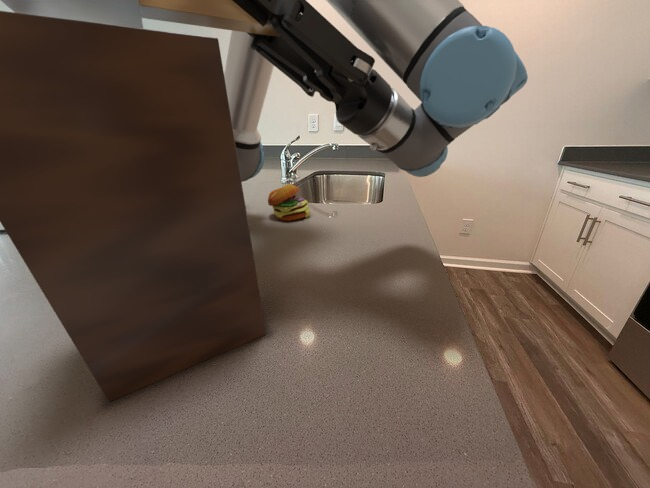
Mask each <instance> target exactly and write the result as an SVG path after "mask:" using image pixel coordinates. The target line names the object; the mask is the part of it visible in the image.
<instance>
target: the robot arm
mask: <svg viewBox="0 0 650 488" xmlns="http://www.w3.org/2000/svg"><path fill="white" fill-rule="evenodd" d="M232 1H234V2H235V3H236V4H237V5H238V6H240V7H241V8H242V9H243V10H244V11H246V12H247V13H248V14H249V15H250V16H252V17H253V18H254V19H255V20H256V21H257V22H259V23H260V24H261V25H262V26H263V27H264V26H265V25H266V23H267V20H268V18H269V19H270V20H269V25H270V26H271V27H272V28H273V29H274V30H275V31H276V32H277V33H278V34H279V35H280V37H276V36H268V35H261V34H254V33H247V32H240V31H232V30H230V37H229V43H228V48H227V49H228V50H227V54H226V55H227V56H226V61H225V67H224V71H223V72H224V78H225V84H226V90H227V96H228V102H229V109H230V115H231V121H232V127H233V133H234V139H235V145H236V152H237V158H238V164H239V170H240V176H241V182H242V183H243V182H247V181H249V180H250V179H252V178H255V177H256V176H257V175H258V174H260V172H261V170H262V169H263V168H264V167H263V166H264V163H265V152H264V151H263V150H264V146H263V144H262V142H261V141H262V135H261V133H260V132H259V130H258V126H259V122H260V119H261V115H262V111H263V107H264V103H265V100H266V97H267V94H268V90H269V86H270V83H271V78H272V74H273V71H274V68H276V69H277V70H278V71H280V72H281V73H282V74H284V75H285V76H286V77H288V78H289V79H290V80H291V81H292V82H294V83H295V84H296V85H297V86H298V87H300V88H301V90H302V91H303V92H304V93H305V94H306V95H307V96H308V97H311V98H313V97H314V96H315V93H318V94H319V96H320V97H321V98H322V99H324V100H326V101H327V102H331V103H334V106H335V117H336V120H337V122H338V123H339V124H340V125H342V127H344V128H346V129H347V130H348V131H349V132H351V133H352V134H354V135H356V136H357V137H359V138H360V139H361V140H363V141H364V142H365V143H367V144H368V145H369V149H370V151H374V152H375V151H378V152H379V153H380V154H382V155H383V156H384V157H385V158H387V159H388V160H389V161H391V162H392V163H393V164H394V165H396V167H397V168H398V169H400V170H402V171H404V172H406V173H407V174H409V175H411V176H414V177H417V178H425V177H428V176H431V175H432V174H434V173H436V172H437V171H438V170H439V169H440V168H441V166H442V164H443V163H444V162H445V161H446V159H447V156H448V152H449V148H448V146H449V145H450V144H451V143H453V142H454V141H455V139H457V138H458V137H460V136H461V135H463V133H465V132H466V131H468V130H469V129H471V128H472V127H473V126H475V125H478V124H479V123H481V122H482V121H484V120H487V119H489V118H490V117H492V115H494V114H495V113H496V112H497V111H498V110H499V109H500V108H501V106H502V105H504V104H505V103H507V102H509V100H511V98H512V97H513V96H514V95H515V94H517V93H518V92H519V91H520V90H522V88H524V87H525V86H526V84H527V82H528V79H529V77H528V72H527V68H526V66H525V64H524V62H523V61H522V59H521V58H520V56H519V54H518V53H517V52H516V51H515V48H514V46H513V43H512V42H511V40H510V39H509V37H508V36H507V35H506V34H505V33H504V32H502V31H501V30H500V29H497V28H496V27H492V26H488V25H483V24H482V23H481V22H480V21H479V20H478V19H477V18H476V17H475V16H474V15H473V14H472V13H470V11H468V10H467V9H466V8H465V6H464V4H463V3H462V2H460V0H325V1H326V2H327V3H328V4H329V6H331V7H332V9H333V10H334V11H335V12H336V13H337V14H338V15H339V16H340V17H341V18H342V19H343V20H344V21H345V22H346V23H347V24H348V25H349V26H350V27H351V29H352V30H354V32H355V33H356V34H357V35H358V36H359V37H360V38H361V39H362V40H363V41H364V42H365V43H366V44H367V45H368V47H370V48H371V49H372V51H373V52H374V53H375V54H376V55H377V56H378V57H379V58H380V59H381V60H382V61H383V62H384V63H385V65H387V66H388V67H389V68H390V69H391V71H392V72H393V73H394V74H395V75H396V76H397V77H398V78H399V79H400V80H401V81H402V82H403V84H404V85H406V87H407V88H408V89H409V91H410V92H411V93H413V95H414V96H416V98H417V99H418V100H419V101H420V102H421V103H420V104H419V105H418V106H417V107H416V108H415V109H414V108H413V107H412V106H411V105H410V104H409V103H408V102H407V101H406V100H405V99H404V98H403V97H402V96H401V94H400V93H399V92H398V91H397V90H396V89H395V88H393V87H392V86H391V85H390V84H389V83H388V81H386V79H384V78H383V76H381V74H380V73H378V71H377V70H375V69H374V68H373V67H374V65H375V62H376V60H375V58H374V57H373V56H372V55H370V54H369V53H367V52H365V51H363V50H362V49H360V48H358V47H357V46H356V45H355V44H354V43H353V41H351V40H350V39H349V38H347V36H345V35H344V34H343V33H342V32H341V31H340V30H339V29H338V28H337V27H335V25H333V24H332V23H331V22H330V21H329V20H328V19H327V18H326V17H325V16H324V15H323V14H321V13H320V12H319V11H318V10H317V9H316V8H315V7H314V6H313V5H312V4H311V3H309V2H308V0H232ZM0 234H7V232H6V231H5V229H0Z"/></svg>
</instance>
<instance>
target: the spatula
mask: <svg viewBox="0 0 650 488" xmlns="http://www.w3.org/2000/svg"><path fill="white" fill-rule="evenodd" d="M0 2H1V3H2V4H3V5H5V6H6V7H7V8H8V9H9V10H11V12H14V13H22V14H30V15H38V16H46V17H54V18H62V19H70V20H78V21H86V22H94V23H102V24H110V25H118V26H126V27H134V28H142V29H144V23H143V19H145V20H146V19H147V20H153V21H160V22H168V23H175V24H182V25H190V26H197V27H205V28H211V29H217V30H227V31H240V32H247V33H254V34H261V35H268V36H276V37H280V35H279V34H278V33H277V32H276V31H275V30H274V29H273V28H272V27H271V26H270V25H269V20H270V19H269V18H268V20H267V23H266V25H265V26H264V27H263V26H262V25H261V24H260V23H259V22H257V21H256V20H255V19H254V18H253V17H252V16H250V15H249V14H248V13H247V12H246V11H244V10H243V9H242V8H241V7H240V6H238V5H237V4H236V3H235V2H234V1H232V0H0Z"/></svg>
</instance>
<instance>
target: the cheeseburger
mask: <svg viewBox="0 0 650 488" xmlns="http://www.w3.org/2000/svg"><path fill="white" fill-rule="evenodd" d="M299 191H300V188H298V186H296V185H294V184H291V183H287V184H285V185H283V186H281V187H279V188H276V189H274V190H271V191H270V192H269V194H268V196H267V204H268V206H271V207H272V209H273V214H274V215H275V216H276V218H277V219H278V220H280V221H282V222H283V221H284V222H286V221H287V222H289V221H294V220H299V219H303V218H309V216H310V214H311V209H310V208H309V205H308V204H309V202H308V200H306V198H305V197H297V196H298V194H297V193H298V192H299Z"/></svg>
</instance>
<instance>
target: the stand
mask: <svg viewBox="0 0 650 488" xmlns="http://www.w3.org/2000/svg"><path fill="white" fill-rule="evenodd" d="M224 72H225V71H224V66H223V60H222V54H221V49H220V42H219V38H218V37H213V36H205V35H198V34H190V33H189V34H188V33H182V32H181V33H180V32H173V31H166V30H158V29H157V30H156V29H151V28H150V29H149V28H143V29H142V28H134V27H126V26H118V25H110V24H102V23H94V22H86V21H78V20H70V19H62V18H54V17H46V16H38V15H30V14H22V13H15V12H13V11H6V10H0V224H1V226H2V228H3V230H5V231H6V232H7V233H6V234H7V236H8V238H9V239H10V241H11V243H12V244H13V246H14V247H15V249H16V250H17V253H18V254H19V255H20V257H21V259H22V260H23V262H24V264H25V265H26V268H27V269H28V270H29V272H30V273H31V276H32V277H33V279H34V280H35V282H36V284H37V285H38V287H39V289H40V291H41V292H42V293H43V296H44V297H45V298H46V301H47V302H48V303H49V305H50V307H51V308H52V310H53V312H54V313H55V316H56V317H57V318H58V320H59V322H60V323H61V325H62V327H63V329H64V331H65V332H66V333H67V335H68V337H69V338H70V340H71V342H72V343H73V345H74V347H75V348H76V350H77V351H78V353H79V354H80V356H81V358H82V360H83V361H84V364H86V366H87V368H88V369H89V371H90V373H91V374H92V376H93V378H94V380H95V381H96V383H97V385H98V386H99V388H100V389H101V391H102V393H103V394H104V396H105V397H106V400H107V401H108V402H113V401H114V400H117V399H120V398H122V397H124V396H127V395H129V394H131V393H134V392H135V391H138V390H140V389H143V388H145V387H147V386H149V385H152V384H154V383H156V382H159V381H162V380H163V379H166V378H168V377H170V376H173V375H175V374H177V373H179V372H182V371H184V370H186V369H189V368H191V367H194V366H196V365H198V364H201V363H203V362H205V361H207V360H210V359H212V358H214V357H217V356H219V355H221V354H225V353H226V352H228V351H230V350H233V349H236V348H238V347H240V346H242V345H245V344H247V343H249V342H251V341H254V340H257V339H258V338H260V337H263V336H265V335H267V331H266V323H265V318H264V317H265V316H264V313H263V306H262V305H263V304H262V300H261V293H260V288H259V282H258V281H259V280H258V275H257V268H256V262H255V257H254V251H253V250H254V249H253V243H252V237H251V233H250V227H249V220H248V213H247V208H246V202H245V195H244V188H243V182H241V176H240V170H239V164H238V158H237V152H236V145H235V139H234V133H233V127H232V121H231V115H230V109H229V102H228V96H227V90H226V84H225V78H224Z"/></svg>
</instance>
